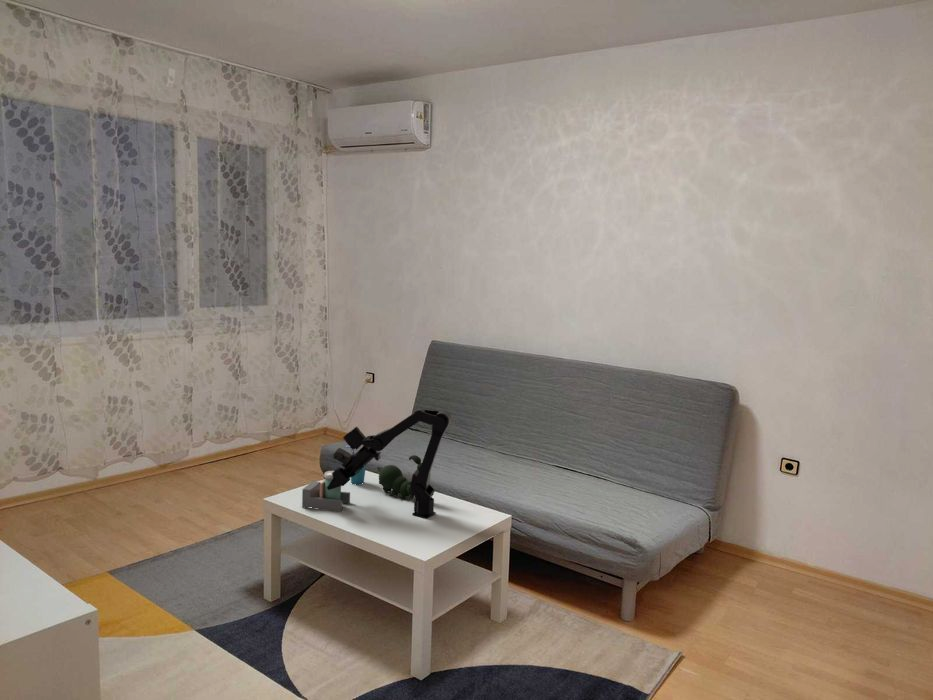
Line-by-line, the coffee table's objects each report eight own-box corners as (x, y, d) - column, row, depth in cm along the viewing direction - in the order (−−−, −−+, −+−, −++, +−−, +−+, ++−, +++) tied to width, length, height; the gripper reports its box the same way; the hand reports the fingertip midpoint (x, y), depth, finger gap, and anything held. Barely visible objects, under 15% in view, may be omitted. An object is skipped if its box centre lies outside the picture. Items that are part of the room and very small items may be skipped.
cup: (338, 480, 284) (339, 445, 283) (353, 477, 290) (354, 442, 288) (358, 488, 275) (359, 452, 273) (373, 484, 280) (374, 449, 279)
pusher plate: (328, 501, 257) (328, 478, 256) (321, 507, 250) (321, 483, 249) (326, 500, 257) (326, 477, 256) (319, 507, 250) (319, 483, 249)
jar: (344, 505, 254) (345, 472, 253) (333, 509, 249) (333, 476, 247) (331, 501, 257) (332, 469, 256) (320, 506, 252) (320, 473, 251)
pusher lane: (349, 502, 257) (350, 484, 257) (341, 511, 247) (341, 492, 247) (312, 499, 260) (312, 481, 259) (302, 507, 250) (302, 489, 249)
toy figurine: (428, 503, 266) (383, 484, 280) (434, 457, 262) (387, 440, 277) (413, 509, 258) (366, 489, 273) (418, 461, 255) (371, 444, 270)
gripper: (354, 436, 259) (326, 462, 262) (338, 448, 241) (308, 476, 243) (374, 458, 259) (345, 484, 261) (359, 471, 240) (328, 499, 243)
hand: (332, 485), depth 252 cm, fingers open, 9 cm apart
